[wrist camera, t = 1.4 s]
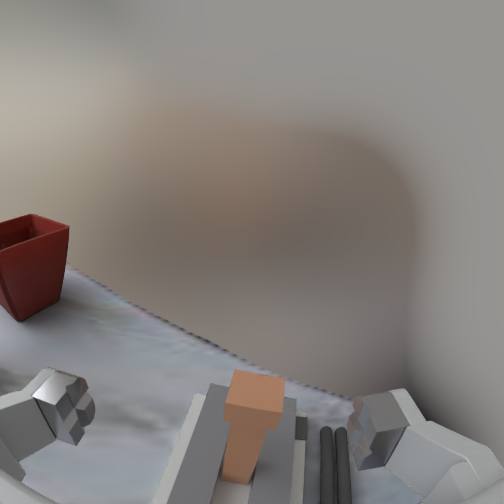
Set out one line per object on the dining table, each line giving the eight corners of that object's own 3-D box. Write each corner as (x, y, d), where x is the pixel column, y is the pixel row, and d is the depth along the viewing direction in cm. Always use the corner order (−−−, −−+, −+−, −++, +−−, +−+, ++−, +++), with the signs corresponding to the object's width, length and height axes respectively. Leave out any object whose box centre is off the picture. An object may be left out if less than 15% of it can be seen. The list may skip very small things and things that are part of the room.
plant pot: (39, 274, 60) (31, 212, 54) (79, 298, 55) (71, 225, 49) (-16, 301, 43) (-32, 232, 37) (14, 337, 37) (-8, 254, 32)
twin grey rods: (315, 553, 16) (320, 551, 15) (318, 429, 34) (322, 423, 33) (348, 551, 15) (354, 549, 15) (343, 431, 34) (347, 425, 33)
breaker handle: (215, 483, 24) (225, 402, 18) (222, 459, 27) (234, 369, 21) (251, 489, 23) (282, 412, 17) (255, 465, 27) (285, 378, 21)
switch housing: (138, 538, 15) (130, 533, 14) (195, 397, 37) (196, 379, 36) (294, 568, 14) (305, 566, 12) (304, 417, 36) (312, 400, 35)
